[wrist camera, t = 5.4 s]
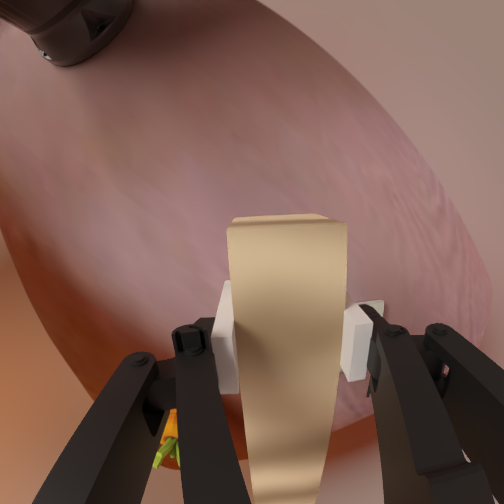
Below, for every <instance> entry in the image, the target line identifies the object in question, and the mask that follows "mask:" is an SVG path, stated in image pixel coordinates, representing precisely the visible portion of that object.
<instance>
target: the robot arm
mask: <svg viewBox="0 0 504 504" xmlns="http://www.w3.org/2000/svg"><path fill="white" fill-rule="evenodd" d="M132 6H133V0H0V19H2V20H4V21H6V22H8V23H10V24H11V25H13V26H15V27H17V28H19V29H20V30H22V31H24V32H26V33H27V34H29V35H30V37H31V38H32V40H33V42H34V43H35V45H36V47H37V48H38V49H39V51H40V53H41V55H42V56H43V57H44V58H45V59H46V60H47V61H49V62H51V63H53V64H55V65H57V66H70V65H74V64H77V63H79V62H81V61H84V60H86V59H87V58H89V57H91V56H92V55H94V54H95V53H97V52H98V51H100V50H101V49H102V48H103V47H105V46H106V45H107V44H108V43H109V42H110V41H111V40H112V39H113V38H114V37H115V36H116V35H117V34H118V33H119V31H120V30H121V29H122V27H123V26H124V25H125V23H126V21H127V20H128V18H129V16H130V13H131V10H132ZM171 335H172V340H173V345H174V349H175V357H174V358H171V359H167V360H162V361H156V358H155V356H154V355H153V354H151V353H148V352H136V353H132V354H130V355H128V356H127V357H126V358H125V359H123V361H122V362H121V364H120V365H119V367H118V368H117V369H116V371H115V372H114V374H113V375H112V377H111V378H110V380H109V381H108V382H107V384H106V385H105V387H104V388H103V390H102V391H101V393H100V394H99V396H98V397H97V399H96V400H95V402H94V403H93V405H92V406H91V408H90V409H89V411H88V412H87V414H86V416H85V417H84V418H83V420H82V422H81V423H80V425H79V426H78V428H77V429H76V431H75V432H74V434H73V436H72V437H71V439H70V440H69V442H68V444H67V445H66V447H65V449H64V450H63V452H62V453H61V455H60V456H59V458H58V460H57V461H56V463H55V465H54V466H53V468H52V470H51V471H50V473H49V475H48V476H47V478H46V480H45V482H44V483H43V485H42V487H41V488H40V490H39V492H38V494H37V495H36V497H35V499H34V501H33V503H32V504H140V503H141V500H142V497H143V494H144V491H145V487H146V484H147V481H148V478H149V475H150V472H151V469H152V466H153V463H154V459H155V456H156V453H157V450H158V447H159V444H160V441H161V438H162V435H163V432H164V429H165V426H166V423H167V420H168V418H169V415H170V410H171V409H176V410H177V431H178V446H179V459H180V471H181V481H182V490H183V498H184V504H251V501H250V498H249V495H248V492H247V489H246V485H245V482H244V479H243V476H242V472H241V469H240V466H239V463H238V459H237V455H236V452H235V448H234V445H233V441H232V437H231V434H230V430H229V426H228V422H227V419H226V415H225V411H224V407H223V403H222V399H221V395H220V394H239V376H240V374H239V365H238V356H237V347H236V338H235V328H234V317H233V306H232V294H231V282H230V280H229V281H225V283H224V287H223V291H222V295H221V299H220V303H219V306H218V310H217V314H216V317H212V318H200V319H198V320H197V321H196V322H195V323H194V324H189V325H184V326H181V327H178V328H176V329H175V330H174V331H173V332H172V334H171ZM445 365H447V366H448V367H449V372H448V375H447V376H446V375H445V374H444V373H443V372H444V369H445ZM340 366H341V368H342V370H343V372H344V374H345V376H346V378H347V380H348V382H352V381H357V380H363V379H365V377H366V371H367V369H368V370H369V372H370V373H371V376H370V381H369V386H368V391H367V397H369V395H370V393H371V397H372V402H373V408H374V414H375V421H376V428H377V434H378V442H379V450H380V458H381V468H382V478H383V490H384V504H495V502H494V499H493V496H494V497H495V498H496V500H497V501H498V503H499V504H504V370H503V369H502V368H501V367H500V366H498V365H497V364H496V363H495V362H493V361H492V360H491V359H490V358H489V357H487V356H486V355H485V354H484V353H483V352H481V351H480V350H479V349H478V348H477V347H475V346H474V345H473V344H472V343H470V342H469V341H468V340H466V339H465V338H464V337H463V336H461V335H460V334H459V333H458V332H456V331H455V330H454V329H452V328H451V327H449V326H447V325H444V324H442V323H440V324H439V323H436V324H431V325H428V326H427V327H426V330H425V335H410V334H409V332H408V330H407V329H406V328H404V327H402V326H399V325H392V324H389V323H388V322H387V321H386V320H385V319H384V318H383V317H382V316H381V315H380V314H379V313H377V311H376V310H375V309H374V308H373V307H371V306H369V305H367V304H359V305H357V303H356V302H355V301H354V300H353V299H352V298H351V297H350V295H349V294H348V293H347V292H346V301H345V310H344V321H343V336H342V349H341V360H340ZM461 448H462V449H463V451H464V452H465V454H466V455H467V457H468V458H469V459H470V461H471V462H470V463H469V462H467V461H466V459H465V458H464V455H463V452H462V449H461ZM492 494H493V496H492Z"/></svg>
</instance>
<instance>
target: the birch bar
mask: <svg viewBox="0 0 504 504" xmlns="http://www.w3.org/2000/svg"><path fill="white" fill-rule="evenodd" d="M227 243H228V257H229V269H230V282H231V294H232V306H233V317H234V328H235V338H236V347H237V356H238V365H239V374H240V376H239V379H240V388H241V398H242V407H243V416H244V424H245V433H246V441H247V449H248V458H249V465H250V473H251V481H252V488H253V495H254V502H255V504H315V501H316V497H317V493H318V489H319V485H320V480H321V476H322V472H323V468H324V463H325V458H326V453H327V448H328V443H329V438H330V433H331V427H332V421H333V415H334V409H335V402H336V395H337V388H338V380H339V372H340V360H341V349H342V336H343V321H344V310H345V301H346V279H347V224H345V223H342V222H339V221H336V220H333V219H330V218H327V217H324V216H321V215H318V214H294V215H273V216H254V217H237V218H234V219H233V221H232V222H231V224H230V226H229V227H228V229H227Z"/></svg>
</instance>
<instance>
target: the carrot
mask: <svg viewBox="0 0 504 504" xmlns="http://www.w3.org/2000/svg"><path fill="white" fill-rule="evenodd" d="M160 443H161V444H162V447H161V448H160V449H159V451H157V454H156V456H155V459H154V463H153V467H154V468H157V469H158V468H159V466H160V464H161V462H162V460H163V458H164V456H166V455H167V454H168V453H169V452H170V451H171V453H170V457H171V458H174V457H175V451H176V458H177V462H178V465H179V466H180V459H179V446H178V431H177V410H176V409H171V410H170V415H169V418H168V420H167V423H166V426H165V429H164V432H163V435H162V438H161V441H160Z"/></svg>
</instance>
